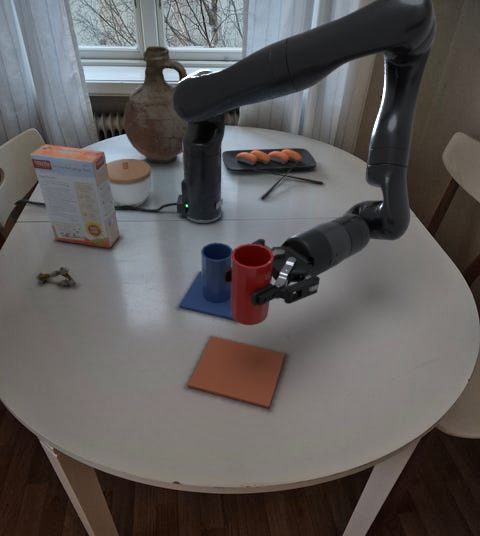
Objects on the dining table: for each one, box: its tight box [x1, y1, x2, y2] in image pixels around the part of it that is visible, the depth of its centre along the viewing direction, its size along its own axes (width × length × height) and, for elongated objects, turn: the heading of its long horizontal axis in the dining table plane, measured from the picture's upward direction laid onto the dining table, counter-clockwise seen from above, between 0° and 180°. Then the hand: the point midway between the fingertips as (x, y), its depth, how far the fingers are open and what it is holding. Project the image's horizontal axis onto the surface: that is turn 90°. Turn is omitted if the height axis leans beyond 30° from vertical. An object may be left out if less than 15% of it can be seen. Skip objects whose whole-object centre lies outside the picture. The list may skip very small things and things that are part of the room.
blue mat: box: [178, 270, 235, 321], centre depth 89 cm, size 12×12×1 cm
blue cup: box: [200, 242, 234, 303], centre depth 86 cm, size 6×6×11 cm
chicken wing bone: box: [35, 266, 77, 287], centre depth 89 cm, size 2×8×4 cm, turn 78°
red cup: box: [230, 243, 274, 326], centre depth 65 cm, size 6×6×11 cm
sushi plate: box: [221, 147, 324, 200], centre depth 131 cm, size 29×30×4 cm
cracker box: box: [29, 143, 120, 249], centre depth 96 cm, size 14×6×21 cm, turn 77°
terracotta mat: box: [187, 335, 286, 409], centre depth 75 cm, size 14×12×1 cm
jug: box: [122, 45, 188, 163], centre depth 128 cm, size 22×22×30 cm
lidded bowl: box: [106, 158, 152, 207], centre depth 113 cm, size 13×13×11 cm
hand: (238, 288), depth 63 cm, fingers closed on red cup, 6 cm apart
